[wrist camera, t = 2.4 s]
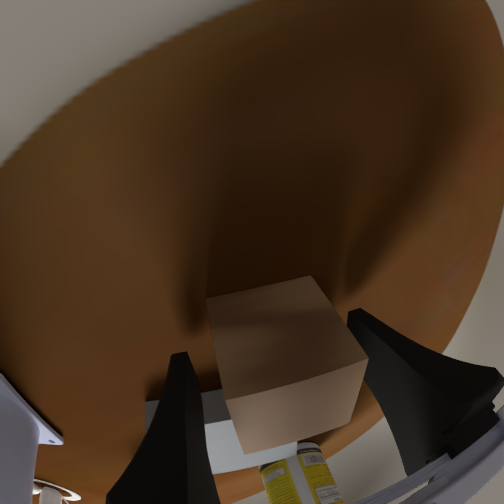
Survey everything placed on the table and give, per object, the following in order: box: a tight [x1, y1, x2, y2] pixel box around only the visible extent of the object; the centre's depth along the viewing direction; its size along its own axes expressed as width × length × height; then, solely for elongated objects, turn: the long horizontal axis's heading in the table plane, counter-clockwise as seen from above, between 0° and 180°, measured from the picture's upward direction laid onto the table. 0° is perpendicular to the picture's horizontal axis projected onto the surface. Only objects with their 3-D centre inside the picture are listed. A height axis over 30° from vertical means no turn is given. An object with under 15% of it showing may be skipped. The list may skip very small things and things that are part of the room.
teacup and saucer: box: [33, 479, 81, 504], centre depth 19 cm, size 9×8×4 cm
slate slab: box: [145, 389, 297, 474], centre depth 16 cm, size 8×8×2 cm
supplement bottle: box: [259, 442, 344, 504], centre depth 18 cm, size 6×6×10 cm
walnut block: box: [205, 275, 369, 455], centre depth 11 cm, size 4×4×5 cm
